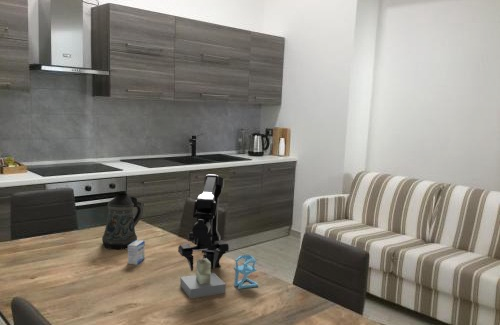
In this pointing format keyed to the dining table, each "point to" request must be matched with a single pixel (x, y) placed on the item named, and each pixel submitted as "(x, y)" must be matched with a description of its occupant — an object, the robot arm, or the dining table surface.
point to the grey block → (202, 286)
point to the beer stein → (121, 222)
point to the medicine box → (136, 252)
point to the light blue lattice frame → (245, 271)
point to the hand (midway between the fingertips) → (203, 269)
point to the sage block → (203, 271)
